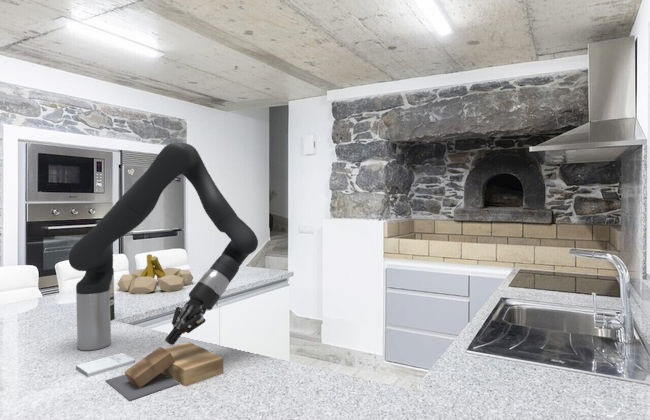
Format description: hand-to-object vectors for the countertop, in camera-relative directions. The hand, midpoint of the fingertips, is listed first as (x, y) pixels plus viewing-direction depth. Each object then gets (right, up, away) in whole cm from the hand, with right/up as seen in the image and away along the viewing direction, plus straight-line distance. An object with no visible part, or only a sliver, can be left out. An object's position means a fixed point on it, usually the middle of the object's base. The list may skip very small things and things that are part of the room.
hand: (168, 343), depth 111 cm
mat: (-5, -9, -4) cm, 11 cm away
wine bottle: (-43, -7, +50) cm, 67 cm away
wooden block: (+4, -8, +4) cm, 10 cm away
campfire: (-46, -5, +109) cm, 118 cm away
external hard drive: (-20, -9, +7) cm, 23 cm away
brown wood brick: (0, -3, 0) cm, 3 cm away
